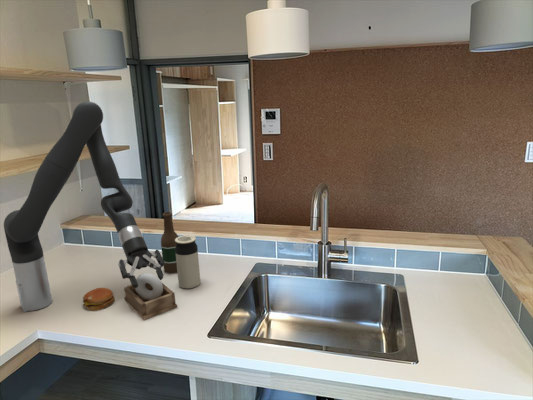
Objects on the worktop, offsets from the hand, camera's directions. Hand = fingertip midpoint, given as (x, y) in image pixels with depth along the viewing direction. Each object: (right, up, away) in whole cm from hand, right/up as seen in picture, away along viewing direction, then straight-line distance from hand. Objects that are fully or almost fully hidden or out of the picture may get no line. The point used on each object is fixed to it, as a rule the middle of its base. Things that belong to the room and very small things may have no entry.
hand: (149, 283), depth 135 cm
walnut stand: (-1, -8, +3) cm, 8 cm away
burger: (-18, -8, +4) cm, 21 cm away
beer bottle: (+1, -1, +29) cm, 29 cm away
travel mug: (+10, -4, +16) cm, 20 cm away
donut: (0, -7, +3) cm, 7 cm away
